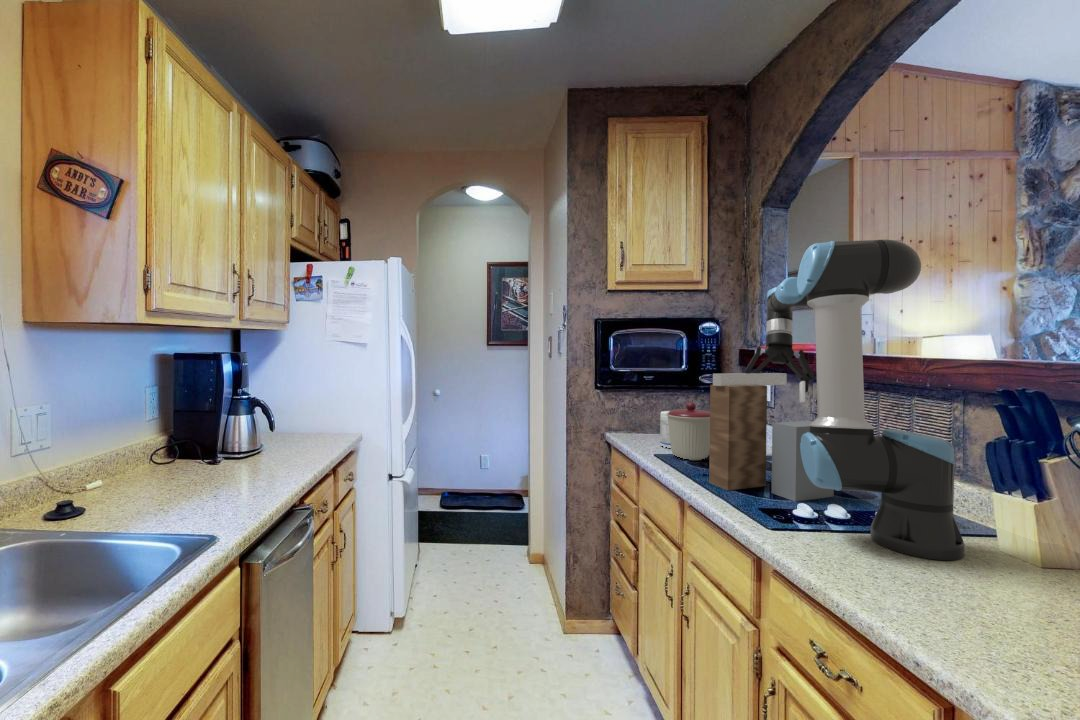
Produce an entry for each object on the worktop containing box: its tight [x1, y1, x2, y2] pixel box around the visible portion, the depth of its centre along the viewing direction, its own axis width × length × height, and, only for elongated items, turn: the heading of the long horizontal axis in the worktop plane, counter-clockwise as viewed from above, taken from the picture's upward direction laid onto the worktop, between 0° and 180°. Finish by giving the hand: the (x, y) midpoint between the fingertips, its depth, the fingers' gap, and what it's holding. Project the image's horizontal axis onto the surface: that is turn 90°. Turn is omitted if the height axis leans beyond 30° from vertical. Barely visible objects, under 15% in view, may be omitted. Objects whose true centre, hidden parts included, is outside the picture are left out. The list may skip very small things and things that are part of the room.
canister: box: [666, 401, 710, 461], centre depth 177 cm, size 18×18×21 cm
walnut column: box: [708, 384, 768, 491], centre depth 141 cm, size 14×8×30 cm, turn 110°
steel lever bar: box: [712, 372, 788, 386], centre depth 142 cm, size 25×4×4 cm, turn 110°
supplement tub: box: [659, 410, 671, 446], centre depth 197 cm, size 10×10×15 cm
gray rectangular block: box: [770, 420, 835, 502], centre depth 131 cm, size 14×8×20 cm, turn 110°
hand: (778, 400), depth 144 cm, fingers open, 13 cm apart
